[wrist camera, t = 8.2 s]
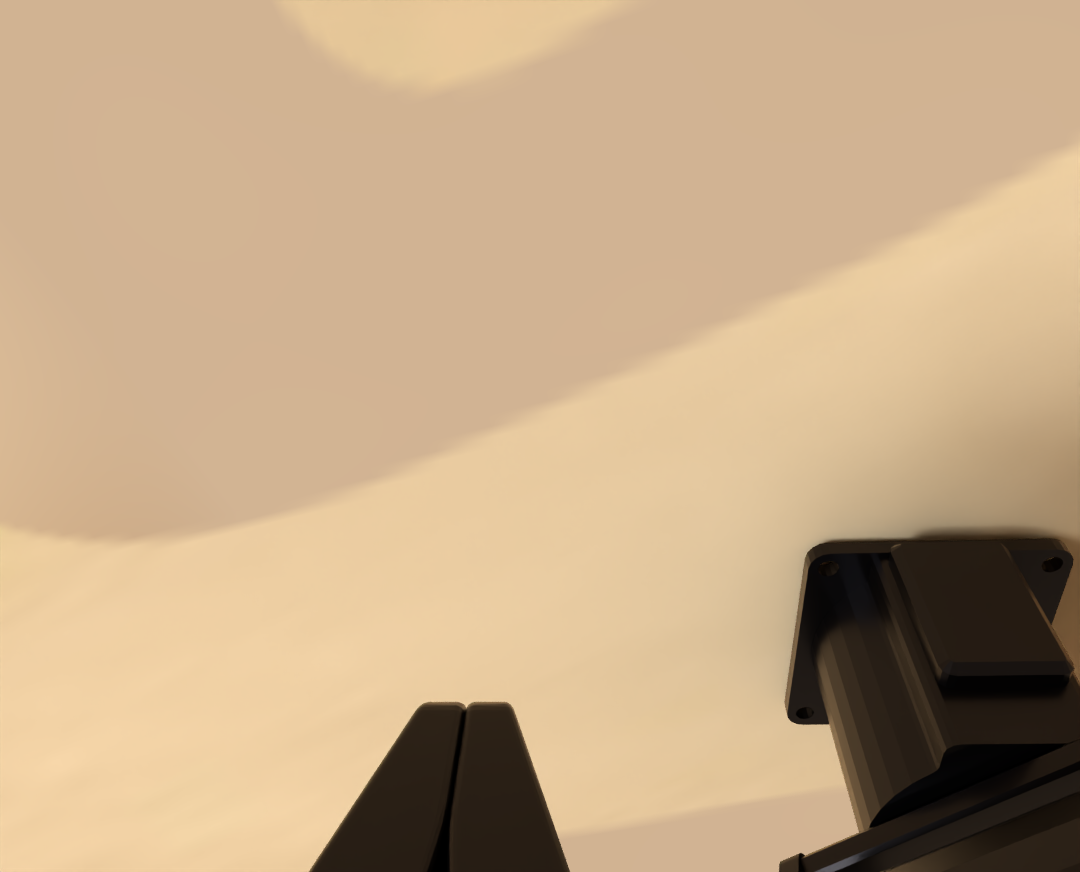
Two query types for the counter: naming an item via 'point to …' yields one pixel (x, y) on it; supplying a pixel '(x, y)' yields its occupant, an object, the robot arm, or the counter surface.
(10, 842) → the counter surface
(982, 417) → the counter surface
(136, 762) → the counter surface
